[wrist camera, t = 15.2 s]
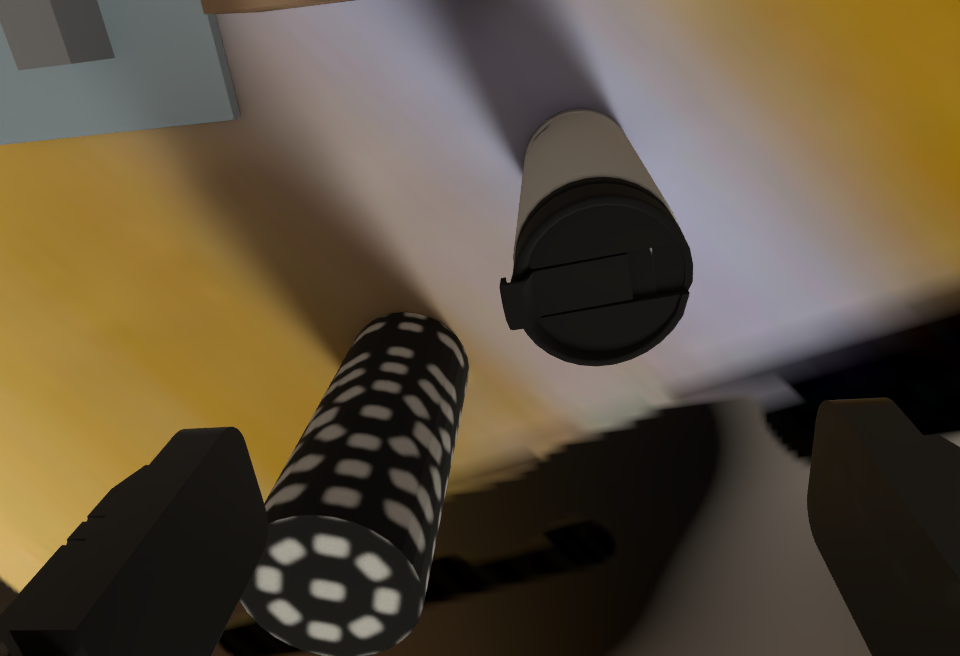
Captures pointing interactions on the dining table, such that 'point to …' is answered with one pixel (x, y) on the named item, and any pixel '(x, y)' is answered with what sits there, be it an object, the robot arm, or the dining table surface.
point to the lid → (109, 68)
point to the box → (257, 5)
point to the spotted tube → (364, 495)
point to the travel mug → (593, 246)
